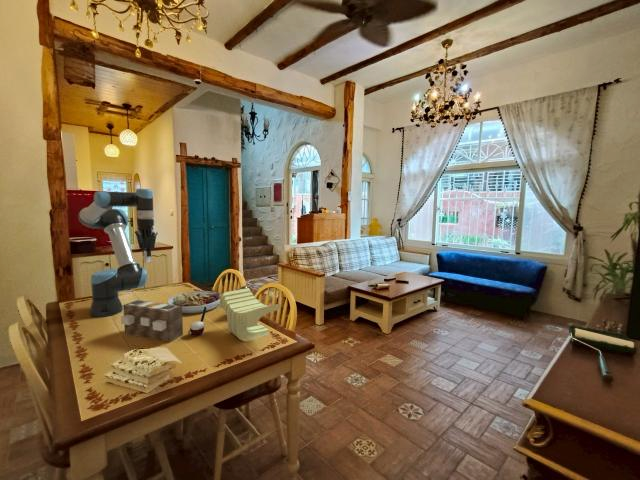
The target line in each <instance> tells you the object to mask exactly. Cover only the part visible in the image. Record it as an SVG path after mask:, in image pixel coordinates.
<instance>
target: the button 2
mask: <svg viewBox="0 0 640 480" xmlns="http://www.w3.org/2000/svg"><path fill="white" fill-rule="evenodd" d="M166 328H167V324H166V321H164V320H156V321H154V322H153V330H158V331H162V330H164V329H166Z"/></svg>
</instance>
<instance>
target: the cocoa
mask: <svg viewBox="0 0 640 480" xmlns="http://www.w3.org/2000/svg"><path fill="white" fill-rule="evenodd" d="M206 312H207V311H206V307H204V310H203V312H202V314H201V317H200V321H195V322H192V323H191V324H189V330H188V332H187V334H188V335H190V336H194V337H199V336H201V335H202V334H204V331H205V322H204V318H205V315H206Z"/></svg>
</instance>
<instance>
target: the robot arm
mask: <svg viewBox="0 0 640 480" xmlns="http://www.w3.org/2000/svg"><path fill="white" fill-rule="evenodd" d="M113 207H117V208H113ZM118 207H124V208H125V207H128V208H129V207H135V208H136V215H137V216H136V217H137V222H136V223H137V226H138V230H135V231H134V234H135V236H136V240H137V243H138V244H137V245H138V247H139V248H138V249H139V250H142V254H143V255H142V256H143V261H144V264H147V263H151V259H152V250H155V247H156V246H155V245H156V242H157V241H156V239H157V235H158V231H155V230H154V226H155V220H154V216H155V215H154V214H155V213H154V195H153V189H150V188H136V190H135V192H134V191H133V192H130V191H129V192H128V191H127V192H125V191H121V192H120V191H106V190H102V191H100V190H99V191H95V192H94V195H93V202H92V203H91V204H90V205H89V206H87V207H83V208H82V209H81V210H80V211H79V212H78V217H77V218H78V221H79V222H80V223H81V224H82V225H83V226H85V227H87V228H90V229H103V231H104V233H106V234H108V237H109V241H110V244H111V247H112V249H113V252H114V255H115V259H116V261H117V265H118V267H117V268H105V269H101V270H98V271H96V272H94V273H92V275H91V277H90V284H91V299H92V300H91V304H90V307H89V310H88V315H89V316H90V317H92V318H101V317H102V318H103V317H110V316H113V315H114V316H115V315H118V314H119V313H121V312H122V311H124V309H123V304H122V302H121V300H120V298H119V292H123V291H128V290H134V289H138V288H143V287H144V286H145V285H146V284H147V279H148V273H147V269H146V268H145V267H144V266H141V264H140V263H139V262H137V261H136V260H135V257H134V253H133V251H132V248H131V246H130V242H129V239H128V236H127V233H126V231H125V230H126V229H127V226H128V225H129V220H128V218H129V217H128V216H127V214H126V211H124V210H123V209H120V208H119V209H118Z"/></svg>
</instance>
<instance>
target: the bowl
mask: <svg viewBox="0 0 640 480" xmlns="http://www.w3.org/2000/svg"><path fill="white" fill-rule="evenodd" d="M221 295H222V294H220V293H218V292H215V291H208V290H197V291H194V290H193V291H187V292H186V291H185V292H182V293H180V294H175V295H173V296H171V297H169V298H168V299H167V302H166V304H169V305H176V306H182V314H187V315H188V314H190V315H191V314H199V313H203V310H204V307H206V312H208V311H211V310H213V309H215V308H217V307H218V306H220V297H221Z"/></svg>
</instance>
